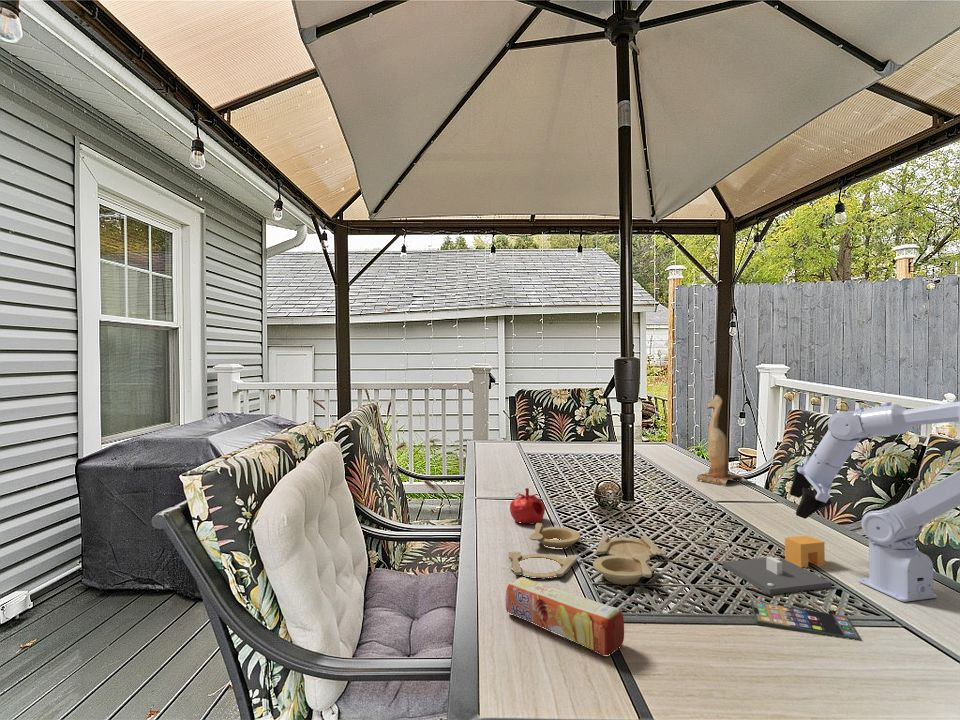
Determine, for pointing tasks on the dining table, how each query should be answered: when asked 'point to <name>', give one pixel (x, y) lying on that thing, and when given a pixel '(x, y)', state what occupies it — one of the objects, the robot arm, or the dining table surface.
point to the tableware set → (616, 568)
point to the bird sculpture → (717, 449)
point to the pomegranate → (527, 508)
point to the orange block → (804, 551)
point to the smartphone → (803, 620)
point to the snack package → (567, 614)
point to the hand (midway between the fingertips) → (797, 505)
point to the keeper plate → (776, 575)
